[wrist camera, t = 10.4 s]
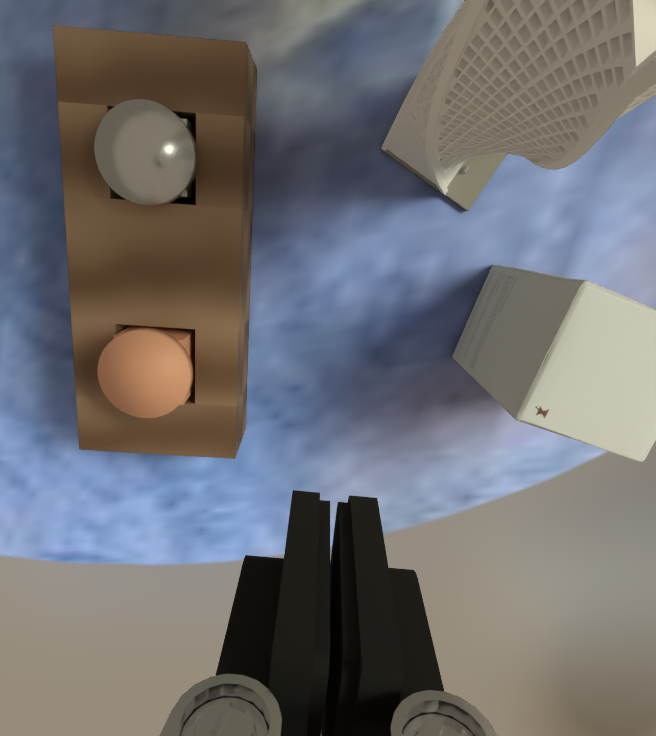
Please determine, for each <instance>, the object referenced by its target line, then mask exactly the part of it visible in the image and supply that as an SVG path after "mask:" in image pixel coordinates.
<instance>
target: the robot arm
mask: <svg viewBox="0 0 656 736" xmlns="http://www.w3.org/2000/svg"><path fill="white" fill-rule="evenodd" d="M160 736H498V735H497V733H496V732H495V730H494V729H493V727H492V725H491V724H490V722H489V720H488V719H487V718H486V717H485V716H484V715H483V714H481V712H480V711H479V710H478V709H477V708H476V707H474V706H473V705H471V704H470V703H468V702H467V701H465V700H463V699H462V698H460V697H458V696H455V695H452V694H450V693H447V692H444V688H443V684H442V680H441V676H440V672H439V667H438V663H437V659H436V655H435V650H434V646H433V642H432V637H431V633H430V629H429V625H428V620H427V616H426V612H425V608H424V604H423V599H422V595H421V591H420V586H419V583H418V578H417V575H416V572H415V571H414V570H407V569H395V568H388V563H387V556H386V551H385V544H384V538H383V532H382V525H381V519H380V513H379V507H378V501H377V498H370V497H360V496H349V499H348V503H344V502H338V505H337V513H336V521H335V529H334V537H333V545H332V554H331V562H330V501H322V500H320V493H316V492H305V491H294V490H293V493H292V501H291V509H290V516H289V524H288V532H287V540H286V547H285V555H284V559H282V558H270V557H259V556H248V555H246V556H245V558H244V561H243V565H242V569H241V574H240V578H239V582H238V586H237V590H236V594H235V598H234V602H233V607H232V611H231V615H230V619H229V623H228V628H227V631H226V635H225V639H224V644H223V648H222V652H221V656H220V660H219V665H218V668H217V672H216V676H213V677H209V678H208V679H205V680H203V681H201V682H199V683H197V684H195V685H194V686H192V687H191V688H190V689H189V690H188V691H187V692H185V693H184V694H183V695H182V696H181V697H180V699H179V700H178V702H177V703H176V705H175V706H174V708H173V709H172V711H171V713H170V715H169V717H168V719H167V721H166V723H165V725H164V728H163V730H162V732H161V734H160Z"/></svg>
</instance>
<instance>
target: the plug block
mask: <svg viewBox="0 0 656 736" xmlns="http://www.w3.org/2000/svg"><path fill="white" fill-rule="evenodd" d="M53 33H54V49H55V65H56V81H57V97H58V113H59V129H60V146H61V162H62V178H63V194H64V210H65V226H66V242H67V258H68V275H69V291H70V307H71V323H72V339H73V355H74V371H75V388H76V404H77V420H78V436H79V449H81V450H98V451H115V452H132V453H149V454H166V455H183V456H200V457H217V458H234V459H235V457H236V454H237V452H238V449H239V446H240V443H241V440H242V438H243V435H244V432H245V429H246V400H247V369H248V337H249V306H250V275H251V243H252V212H253V180H254V149H255V117H256V86H257V68H256V66H255V63H254V61H253V58H252V56H251V53H250V51H249V48H248V46H247V43H246V42H238V41H227V40H215V39H204V38H192V37H181V36H169V35H158V34H146V33H135V32H124V31H112V30H101V29H89V28H78V27H66V26H55V25H53ZM134 99H145V100H150V101H154V102H157V103H159V104H161V105H163V106H165V107H167V108H168V109H170V110H171V111H172V112H173V113H175V114H176V115H177V116H178V117H180V118H182V119H188V120H189V121H190V122H191V123H193V124H194V125H195V126H196V147H197V152H198V166H197V171H196V205H187V204H174V203H167V204H164V205H143V204H138V203H134V202H131V201H129V200H127V199H125V198H123V197H121V196H120V195H119V194H117V193H116V192H115V191H114V190H113V189H112V188H111V187H110V186H109V185H108V184H107V183H106V181H105V180H104V178H103V177H102V175H101V173H100V171H99V168H98V165H97V162H96V158H95V151H94V142H95V136H96V132H97V129H98V126H99V124H100V122H101V121H102V119H103V117H104V116H105V115H106V114H107V112H109V111H110V110H111V109H112V108H113V107H115V106H116V105H118V104H120V103H122V102H125V101H128V100H134ZM132 325H138V326H153V327H167V328H182V329H195V390H194V391H193V392H192V394H191V395H190V396H189V398H188V399H187V400H186V402H185V403H184V404H183V405H178V406H177V407H176V408H175V409H174V410H173V411H171V412H169V413H168V414H166V415H163V416H160V417H156V418H139V417H135V416H131V415H129V414H126V413H124V412H122V411H121V410H119V409H118V408H116V407H115V406H114V405H113V404H112V403H111V402H110V401H109V400H108V399H107V397H106V396H105V395H104V393H103V391H102V389H101V386H100V384H99V380H98V373H97V372H98V362H99V358H100V356H101V353H102V351H103V350H104V348H105V347H106V346H107V345H108V344H109V343H110V342H111V341H112V340H113V339H114V335H116V334H117V333H119V332H121V331H123V330H125V329H127V328H128V327H130V326H132Z"/></svg>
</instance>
